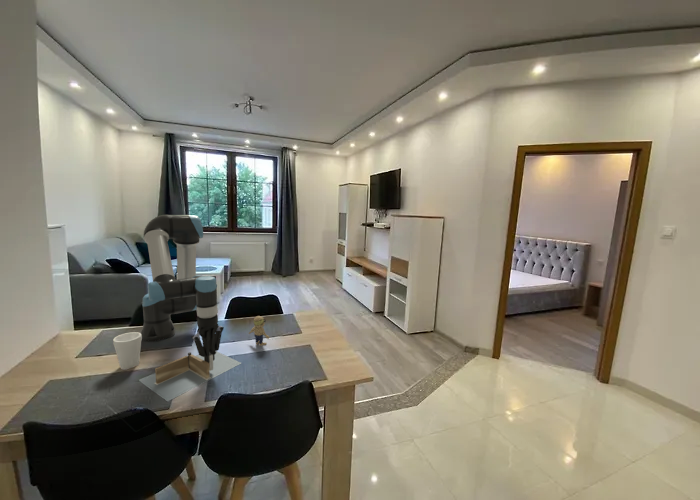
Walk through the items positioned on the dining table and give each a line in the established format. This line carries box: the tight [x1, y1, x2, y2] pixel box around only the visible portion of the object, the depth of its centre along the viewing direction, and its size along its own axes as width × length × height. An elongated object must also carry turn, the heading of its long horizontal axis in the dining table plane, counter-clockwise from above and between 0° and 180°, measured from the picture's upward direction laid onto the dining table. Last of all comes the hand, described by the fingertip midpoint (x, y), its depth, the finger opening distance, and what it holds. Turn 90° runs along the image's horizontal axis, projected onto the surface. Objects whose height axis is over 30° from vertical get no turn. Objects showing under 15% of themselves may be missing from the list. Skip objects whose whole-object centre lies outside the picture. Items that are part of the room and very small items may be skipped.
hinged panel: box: [187, 351, 210, 378], centre depth 119 cm, size 1×13×7 cm, turn 58°
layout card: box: [138, 351, 242, 402], centre depth 120 cm, size 22×31×1 cm
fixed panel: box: [154, 355, 189, 384], centre depth 116 cm, size 1×12×6 cm, turn 148°
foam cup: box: [112, 331, 143, 371], centre depth 122 cm, size 10×9×13 cm
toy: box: [248, 315, 270, 346], centre depth 145 cm, size 13×6×15 cm, turn 65°
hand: (209, 368), depth 120 cm, fingers closed
